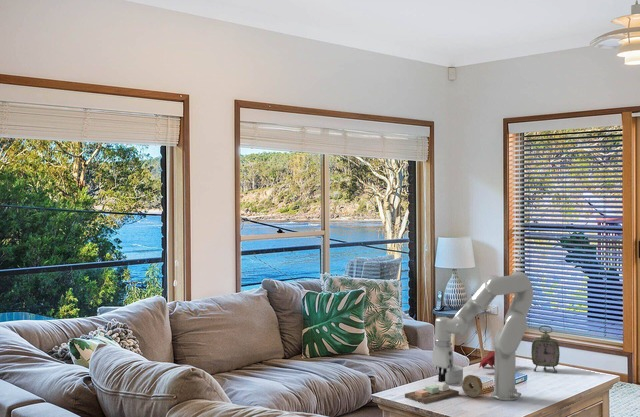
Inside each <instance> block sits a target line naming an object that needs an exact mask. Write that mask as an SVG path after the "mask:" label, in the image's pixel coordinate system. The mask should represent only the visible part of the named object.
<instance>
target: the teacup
mask: <svg viewBox="0 0 640 417" xmlns="http://www.w3.org/2000/svg"><path fill="white" fill-rule="evenodd" d="M463 369H464V368H463V367H462V366H461V365H456V364H455V365H453V367H452V368H451V371H448V372H447V373H446V375H445V382H444V383H445V384H448V385H459V384H460V383H461V382H463V380H464V372H463V371H464V370H463Z"/></svg>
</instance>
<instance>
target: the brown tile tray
mask: <svg viewBox="0 0 640 417" xmlns="http://www.w3.org/2000/svg"><path fill="white" fill-rule="evenodd" d="M422 390H425V388H424V389H422ZM415 391H416V390H414V391H411V392H405V393H404V398H406V399H408V400H411V401H415V402H417V401H418V402H417V403H420V402H421V404H423V403H424V404H427V402H428V403H432V402H437V401H440V400H444V399H447V398H451V397H456V396H460V391H459V390H456V389H452V388H450V387H449V390H446V391H440V390H439V392H438V393H434V394H431V393H428V396H424V397H420V396H417V395H415ZM431 401H432V402H431Z"/></svg>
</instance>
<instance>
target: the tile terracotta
mask: <svg viewBox="0 0 640 417" xmlns="http://www.w3.org/2000/svg"><path fill="white" fill-rule="evenodd" d="M414 391H415V395H417V396H420V397H424V396H428V391H425V390H423V389H418V390H414Z"/></svg>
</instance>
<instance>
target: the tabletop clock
mask: <svg viewBox="0 0 640 417" xmlns="http://www.w3.org/2000/svg"><path fill="white" fill-rule="evenodd" d="M543 327H546V328H549V329H551V331H547V330H544V331H543V330H540V329H541V328H543ZM538 331H539V332H540V333H542V334H541V336H540V337H535V338H534V337H533V339H532V341H531V342H532V343H531V352H530V353H531V360H532V361H531V362H532V364H533V365H535V367H534V368H533V372H536V371H537V367H538V366H539V367H543V371H547V368H552V369H553V372H554V373H555V374H556V373H558V370H557V369H556V367H557V366H558V365H559V363H560V345H559V341H558V339H555V338H551V336H550V333H552V332H553V328H552V327H551V326H549V325H545V324H544V325H540V326H539V327H538Z"/></svg>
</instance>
